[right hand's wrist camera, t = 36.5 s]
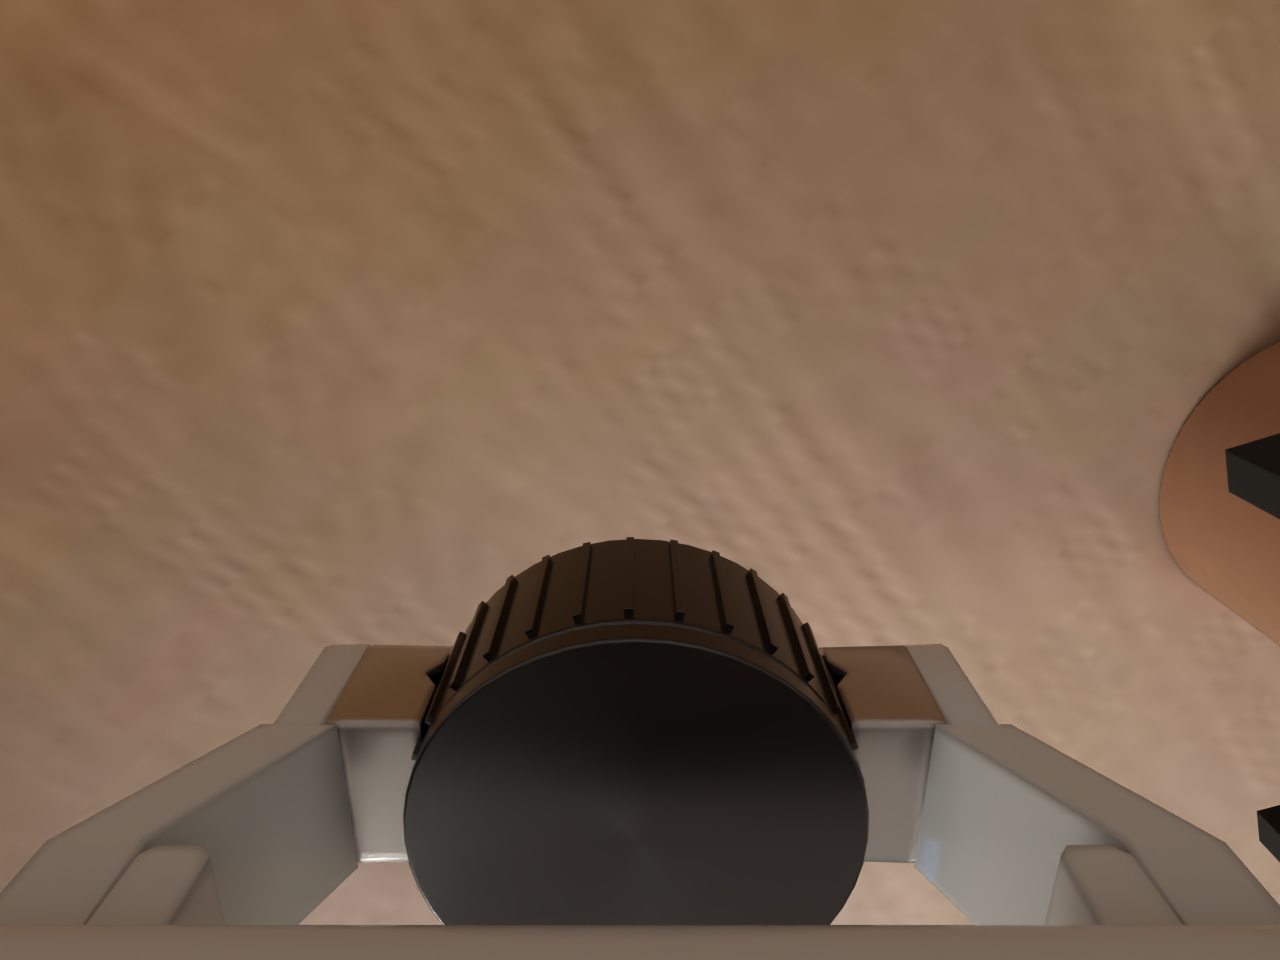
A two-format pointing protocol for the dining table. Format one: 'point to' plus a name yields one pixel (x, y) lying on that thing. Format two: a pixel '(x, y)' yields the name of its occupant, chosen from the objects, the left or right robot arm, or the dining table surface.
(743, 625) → the cap
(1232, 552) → the bottle
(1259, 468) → the left robot arm
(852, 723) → the right robot arm
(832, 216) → the dining table surface
